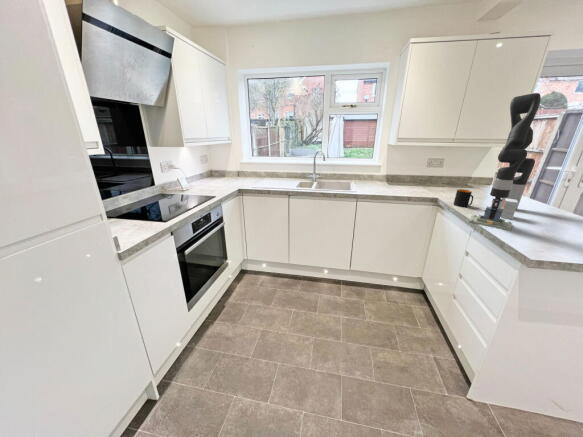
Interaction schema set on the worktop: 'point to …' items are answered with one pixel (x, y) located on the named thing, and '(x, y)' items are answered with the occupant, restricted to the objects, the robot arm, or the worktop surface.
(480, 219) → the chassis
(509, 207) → the small box
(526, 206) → the worktop surface
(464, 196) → the mug
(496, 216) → the servo
